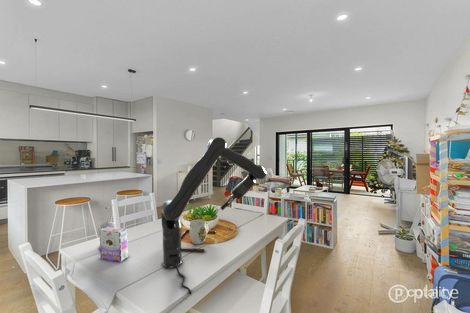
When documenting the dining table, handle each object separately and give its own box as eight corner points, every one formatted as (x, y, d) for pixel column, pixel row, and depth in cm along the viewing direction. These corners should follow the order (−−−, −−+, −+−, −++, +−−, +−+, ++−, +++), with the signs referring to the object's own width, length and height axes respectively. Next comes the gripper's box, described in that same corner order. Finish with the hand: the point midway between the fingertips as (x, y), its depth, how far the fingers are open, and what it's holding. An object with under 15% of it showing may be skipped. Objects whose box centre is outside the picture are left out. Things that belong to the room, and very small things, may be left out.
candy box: (128, 257, 122) (127, 228, 121) (120, 262, 116) (119, 232, 116) (108, 254, 126) (107, 225, 125) (99, 259, 120) (98, 229, 119)
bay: (215, 232, 155) (215, 230, 155) (204, 252, 127) (204, 250, 127) (186, 231, 159) (186, 229, 159) (168, 249, 130) (168, 247, 130)
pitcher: (215, 239, 145) (214, 218, 145) (194, 249, 131) (194, 226, 130) (203, 235, 152) (203, 215, 151) (182, 244, 138) (182, 222, 137)
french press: (109, 251, 129) (108, 209, 128) (92, 249, 131) (91, 208, 130) (121, 243, 139) (120, 205, 137) (105, 242, 141) (104, 204, 140)
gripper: (237, 184, 143) (219, 201, 146) (234, 188, 130) (214, 207, 133) (245, 192, 143) (227, 210, 145) (243, 197, 130) (223, 216, 132)
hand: (221, 208), depth 139 cm, fingers closed
